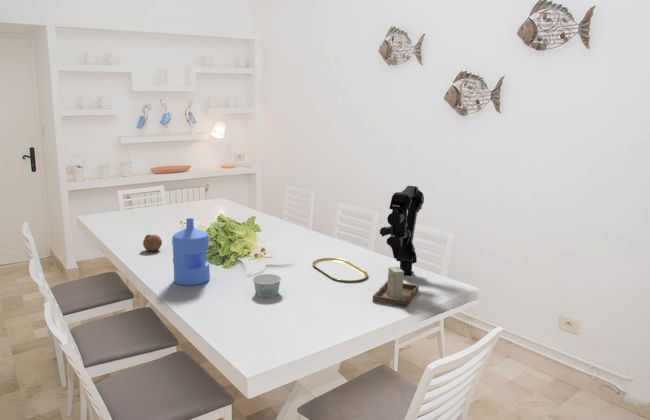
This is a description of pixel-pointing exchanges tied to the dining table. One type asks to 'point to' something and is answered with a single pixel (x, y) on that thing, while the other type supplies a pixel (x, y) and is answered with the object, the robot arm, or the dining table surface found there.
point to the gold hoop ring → (345, 263)
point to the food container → (266, 285)
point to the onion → (152, 242)
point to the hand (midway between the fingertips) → (398, 255)
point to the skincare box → (395, 282)
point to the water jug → (190, 255)
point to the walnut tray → (407, 297)
